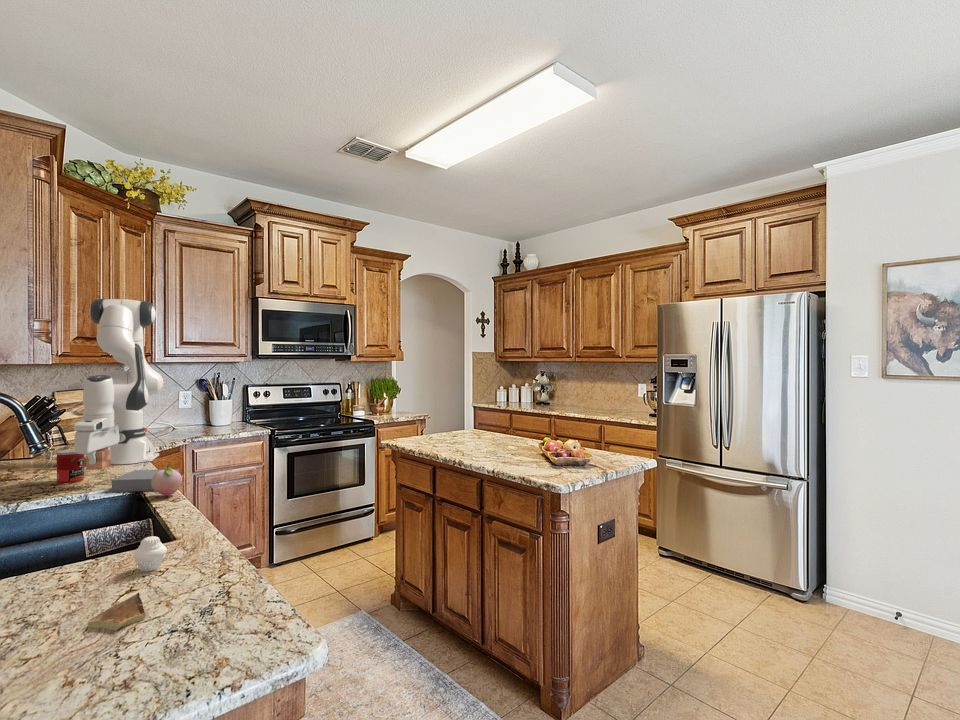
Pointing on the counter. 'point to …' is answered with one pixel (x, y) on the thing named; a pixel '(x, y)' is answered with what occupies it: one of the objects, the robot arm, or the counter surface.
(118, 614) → the shard
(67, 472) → the canned food
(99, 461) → the terracotta block
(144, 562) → the muffin
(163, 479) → the decorative fruit
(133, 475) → the base slab
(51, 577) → the counter surface
